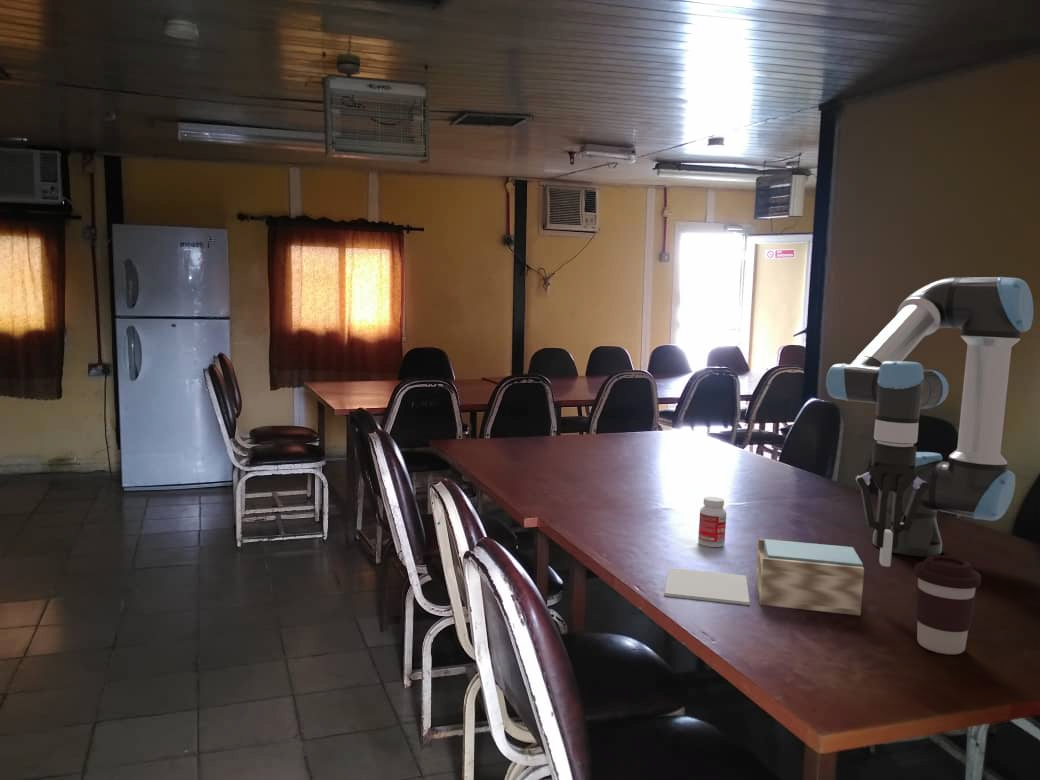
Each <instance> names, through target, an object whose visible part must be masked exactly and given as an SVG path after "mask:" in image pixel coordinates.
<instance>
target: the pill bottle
mask: <svg viewBox="0 0 1040 780" xmlns="http://www.w3.org/2000/svg"><path fill="white" fill-rule="evenodd" d="M724 506H725V499H723V498H722V497H717V496H706V497H704V498H703V506H702V507H701V508H700V510H699V523H698V539H697V540H698V543H699V545H701V546H703V547H707V548H714V547H715V548H716V547H717V548H721V547H724V546H725V541H726V528H727V526H726V525H727V510H726V509H725V508H724Z"/></svg>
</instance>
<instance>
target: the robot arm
mask: <svg viewBox="0 0 1040 780" xmlns="http://www.w3.org/2000/svg"><path fill="white" fill-rule="evenodd" d="M1033 300H1034V299H1033V295H1032V292H1031V289H1030V287H1029V285H1028V283H1027V282H1026V281H1025V280H1023V278H1022V279H1021V278H1018V277H1017V278H1016V277H1008V276H1007V277H1004V276H998V277H997V276H995V277H994V276H993V277H992V276H991V277H990V276H989V277H988V276H987V277H985V276H984V277H982V276H981V277H979V276H978V277H975V276H974V277H971V276H970V277H968V276H967V277H958V276H957V277H956V276H953V277H944V278H942V279H937V280H935V281H933V282H931V283H929V284H926V285H924V286H923V287H920V288H919V289H917V290H915V291H914V292H913V293H911V294H910V295H908V296H907V297H906V298H905V299H904V300H903V301H902V302H901V303H900V305H898V308H897V311H896V315H895V317H893V318H892V319H891V321H890V322H889V323H888V324H886V326H885V327H884V328H883V329H882V330H881V331H880V332H879V333H878V334H877V335H876V336H875V337H874V338H873V339H872V340H871V341H870V343H869V344H868V345H866V347H864V349H863V350H862V351H861V352H860V353H859V354H858V355H857V356H856V357H855V358H854V360H852V362H851V363H849V364H848V363H846V362H845V363H844V362H843V363H835V364H833V365H832V366H831V367H830V368H829V369H828V371H827V374H826V378H825V385H826V391H827V394H828V395H829V396H830V398H832V399H835V400H842V401H846V402H859V403H868V404H876V410H875V417H874V418H875V420H874V432H873V439H874V440H876V441H875V442H874V443H872V452H871V455H872V456H871V464H870V466H869V467H868V469H867V472H865V473H863V474H861V475H860V474H859V475H858V474H857V475H856V476H855V481H856V483H857V485H858V486H859V488H860V492H861V498H862V499H861V500H862V505H863V506H862V507H863V511H864V515H865V521H866V522H865V523H866V524H867V525H868V527H869V528H872V529H875V530H874V531H873V534H872V544H873V545H874V546H875V547H876V548H878V549H879V561H878V562H879V564H880V565H881V567H888V568H889V567H891V562H892V553H893V554H897V555H898V554H899V555H903V556H909V557H910V556H911V557H929V556H935V555H939V556H940V555H941V554H942V553H943V552H942V550H943V541H942V537H941V534H940V530H939V526H938V522H937V513H938V512H942V513H947V514H948V513H949V514H952V515H953V514H954V515H958V516H964V517H968V518H971V519H974V520H986V521H989V522H990V521H991V522H993V521H997V520H999V519H1001V518H1002V517H1003V516H1004V515H1005V513H1006V512H1007V511H1008V509H1009V507H1010V504H1011V503H1012V499H1013V497H1014V493H1015V488H1016V475H1015V473H1014V472H1013V471H1011V470H1008V469H1007V468H1008V461H1007V460H1006V459H1005V458H1004V456H1003V455H1002V454H1001V452H1002V451H1001V449H1002V441H1003V433H1004V432H1003V430H1004V429H1003V428H1004V421H1005V419H1004V418H1005V411H1006V401H1007V392H1008V383H1009V372H1010V366H1011V365H1010V363H1011V355H1012V347H1013V346H1014V345H1015V344H1017V343H1019V341H1020V340H1021V337H1022V333H1026V332H1027V331H1029V330H1030V329H1031V328H1032V325H1033V323H1032V322H1033V320H1034V301H1033ZM939 329H960V338H961V339H962V340H963V341H964V342H965V343H966V345H967V347H966V348H967V349H966V354H965V355H966V356H965V365H964V376H963V377H964V378H963V387H962V397H961V405H960V406H961V407H960V417H959V428H958V438H957V446H956V447H957V448H956V450H953V452H952V453H950V454H948V455H949V456H948V461H943V456H942V454H941V453H938V452H931V451H930V452H929V451H917V446H916V445H915V444H916V443H917V442H918V436H919V423H920V422H919V421H920V414H921V413H920V412H921V411H920V410H923V409H925V410H928V409H932V408H934V407H937V406H939V405H940V404H942V403H943V402H944V401H945V400H946V398H947V397H948V394H949V391H950V390H949V389H950V388H949V387H950V386H949V382H948V380H947V378H946V377H945V376H944V375H943V374H942V373H941V372H938V371H937V370H932V369H926V368H925V369H924V366H923V364H921V363H919V362H917V361H909V360H908V361H906V360H905V359H906V358H907V357H908V355H910V353H911V352H913V350H914V349H915V348H916V347H917V346H918V345H919V343H920V342H921V341H922V339H924V337H927V336H930V335H932V334H933V333H935V332H936V331H937V330H939ZM870 479H871V480H872V481H873V482H874V485H875V486H876V487H877V488H878V491H877V493H878V495H877V497H878V498H877V510H876V519H875V514H874V508H873V503H872V498H871V497H872V496H871V492H870V488H869V486H870V484H871V481H870Z"/></svg>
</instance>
